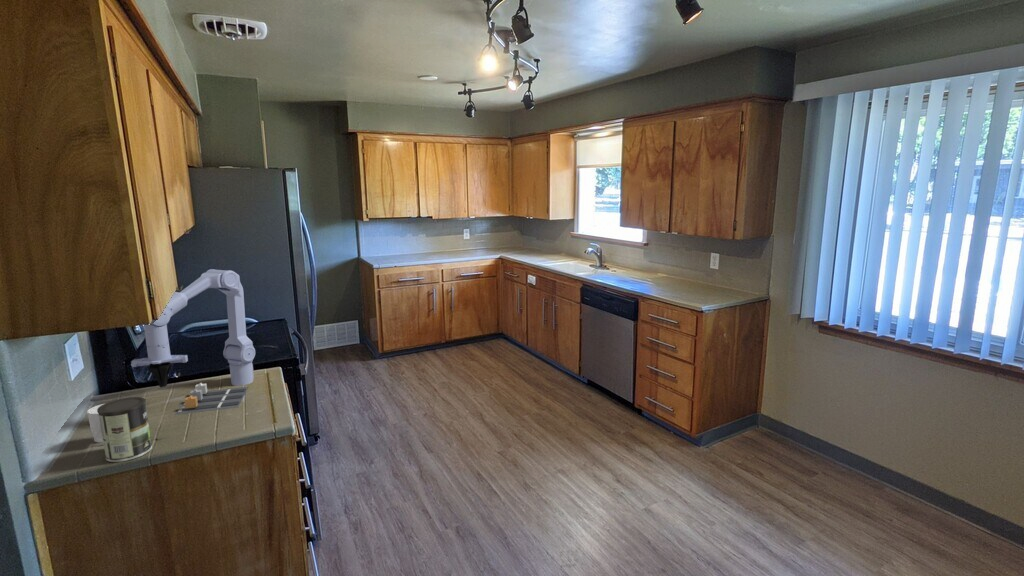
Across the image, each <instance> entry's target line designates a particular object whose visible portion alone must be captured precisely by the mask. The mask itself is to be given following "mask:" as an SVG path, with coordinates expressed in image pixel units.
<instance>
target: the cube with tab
mask: <svg viewBox="0 0 1024 576" xmlns="http://www.w3.org/2000/svg"><path fill="white" fill-rule="evenodd" d="M194 388H195V389H197V390H202V394H206V393H207V391H208V385H207V383H203V382H200V383H198V384H197V383H196V385H194ZM195 389H194V390H195Z"/></svg>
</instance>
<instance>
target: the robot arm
mask: <svg viewBox="0 0 1024 576" xmlns="http://www.w3.org/2000/svg"><path fill="white" fill-rule="evenodd" d="M240 279H241V278H240V274H238V273H237V272H235V271H234V270H231V269H230V270H226V269H225V270H223V269H213V268H210V269H208V270H206V271H205V272H203V273H202V274H200V277H198V278H197V279H196V280H194V281H193V282H192V283H190V284H189V285H188V286H186V287H185V288H183V289H182V290H181V291H173V292H174V294H173V296H172V298H171V299H170V301H169V303H168V304H167V306H166V308H165V309H164V311H163V313H162V314H161V316H160V317H159V319H158V320H156V321H155V322H154V323H152V324H150V325H144V326H143V325H142V327H143V330H144V336H145V344H146V353H147V357H143V358H137V359H135V358H134V359H133V360H131V361H130V363H131V368H136V367H142V366H143V367H144V366H149V367H148V371H149V373H151V374H152V375H153V376H154V378H155V379H156V381H157V383H158V385H159V387H160V388H164V387H165V388H166V387H167V385H168V379H169V374H170V370H171V368H172V365H173V364H176V363H184V364H185V363H187V362H189V358H188V354H171V349H170V348H171V347H170V341H169V334H168V323H169V322H170V320H171V318H172V317H173V316H174V315H175V314H177V313H178V312H179V311H181V310H183V309H184V308H185V307H187V306H188V301H189V300H191V299H193V298H194V297H196V296H198V295H199V294H201V293H202V292H204V291H206V290H207V289H216V290H218V291H220V292H221V293H223V294H224V295H226V298H225V299H226V309H227V323H228V338H227V339H226V340H225V341H224V349H223V351H222V354H223V357H224V359H226V360H227V363H228V364H229V372H230V383H231V385H232V386H239V387H240V386H245V385H249V384H251V383H253V382H254V377H255V375H254V364H253V360H254V358H255V356H256V348H255V347H254V345H253V344H254V343H253V342H254V341H252V340H251V338H249V337H248V335H247V325H246V312H245V311H246V310H245V297H244V295H245V294H244V288H243V285H242V283H241V280H240Z"/></svg>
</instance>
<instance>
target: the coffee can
mask: <svg viewBox="0 0 1024 576" xmlns="http://www.w3.org/2000/svg"><path fill="white" fill-rule="evenodd" d="M146 402H147V399H146V398H145V397H142V396H141V397H140V396H133V397H123V398H118V399H114V400H111V401H109V402H106V403H103V404H104V405H102V406H100V407H99V408H98V409H97V412H98V413H99V419H100V425H101V431H102V437H103V442H102V443H103V445H104V446H103V447H104V453H105V461H108V462H109V463H120V462H126V461H127V462H128V461H130V460H134V459H138V458H140V457H143V456H145V455H146V454H148V453H149V452H150V451H151V450H152V449H153V445H152V440H151V432H150V425H149V418H148V412H147V404H146Z"/></svg>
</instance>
